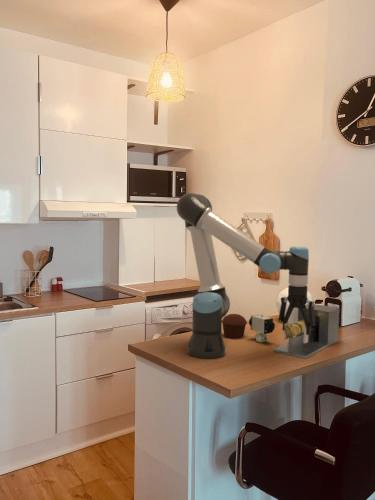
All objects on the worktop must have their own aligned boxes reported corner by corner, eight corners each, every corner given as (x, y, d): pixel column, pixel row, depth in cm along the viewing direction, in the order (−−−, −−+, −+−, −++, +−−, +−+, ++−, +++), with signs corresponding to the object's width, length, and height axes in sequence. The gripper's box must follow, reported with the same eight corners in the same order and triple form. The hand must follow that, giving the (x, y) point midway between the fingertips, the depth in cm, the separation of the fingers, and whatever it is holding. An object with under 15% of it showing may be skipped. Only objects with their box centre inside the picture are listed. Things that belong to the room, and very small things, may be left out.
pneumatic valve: (267, 345, 188) (267, 317, 188) (248, 339, 198) (248, 312, 197) (276, 343, 192) (276, 316, 191) (257, 337, 201) (257, 311, 200)
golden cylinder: (284, 336, 178) (284, 322, 178) (300, 329, 190) (300, 316, 189) (297, 339, 174) (297, 325, 174) (313, 332, 186) (313, 318, 185)
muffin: (218, 337, 200) (218, 315, 199) (224, 331, 210) (224, 311, 209) (244, 340, 196) (244, 318, 195) (249, 334, 206) (249, 313, 206)
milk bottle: (303, 333, 209) (304, 291, 207) (286, 332, 211) (287, 290, 210) (304, 330, 216) (305, 289, 215) (288, 328, 219) (289, 288, 217)
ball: (298, 337, 228) (297, 311, 216) (269, 317, 242) (267, 291, 229) (322, 316, 235) (322, 290, 223) (293, 298, 249) (292, 272, 236)
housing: (273, 351, 180) (274, 315, 179) (308, 335, 206) (309, 303, 205) (305, 358, 171) (306, 320, 170) (338, 340, 198) (339, 307, 196)
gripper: (326, 286, 175) (324, 343, 176) (279, 281, 188) (277, 334, 189) (318, 288, 169) (316, 347, 171) (270, 283, 182) (269, 337, 184)
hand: (296, 340), depth 180 cm, fingers open, 8 cm apart
